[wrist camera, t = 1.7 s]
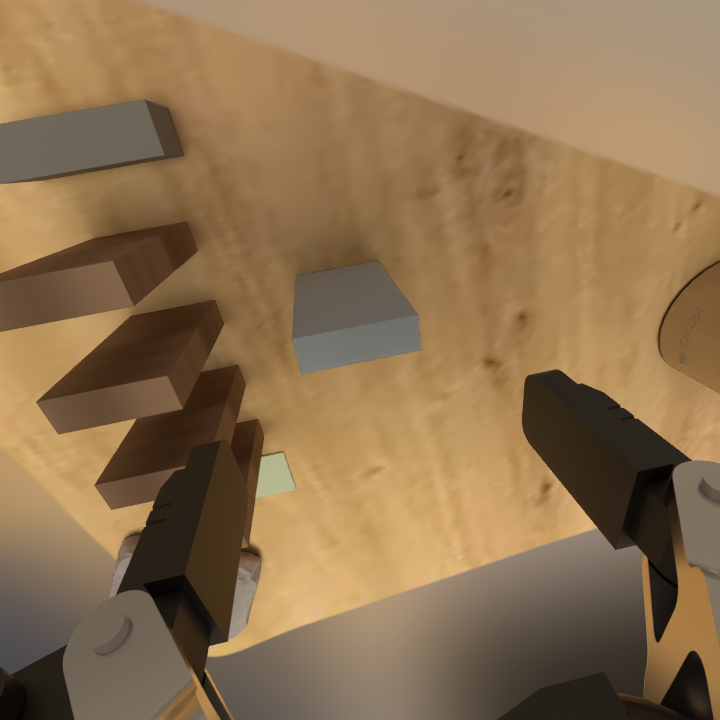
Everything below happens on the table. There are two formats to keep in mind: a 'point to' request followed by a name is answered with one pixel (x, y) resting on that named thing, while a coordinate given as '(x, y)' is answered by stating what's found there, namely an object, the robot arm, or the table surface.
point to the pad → (274, 475)
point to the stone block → (243, 591)
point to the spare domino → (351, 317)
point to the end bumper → (86, 141)
